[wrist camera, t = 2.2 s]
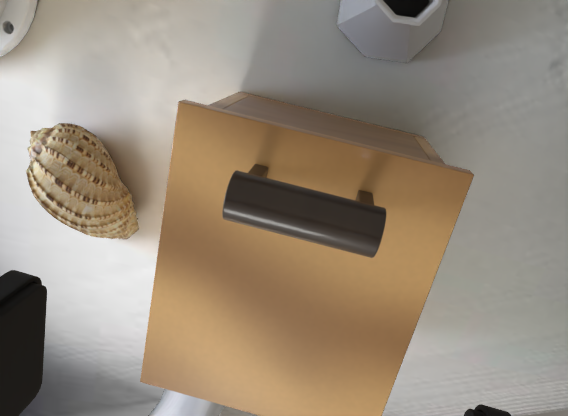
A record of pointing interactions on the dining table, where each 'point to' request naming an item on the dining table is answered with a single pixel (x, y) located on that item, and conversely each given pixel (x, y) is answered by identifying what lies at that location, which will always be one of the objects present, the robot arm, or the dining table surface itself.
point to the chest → (329, 125)
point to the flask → (391, 26)
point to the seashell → (79, 182)
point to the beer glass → (184, 406)
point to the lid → (292, 265)
